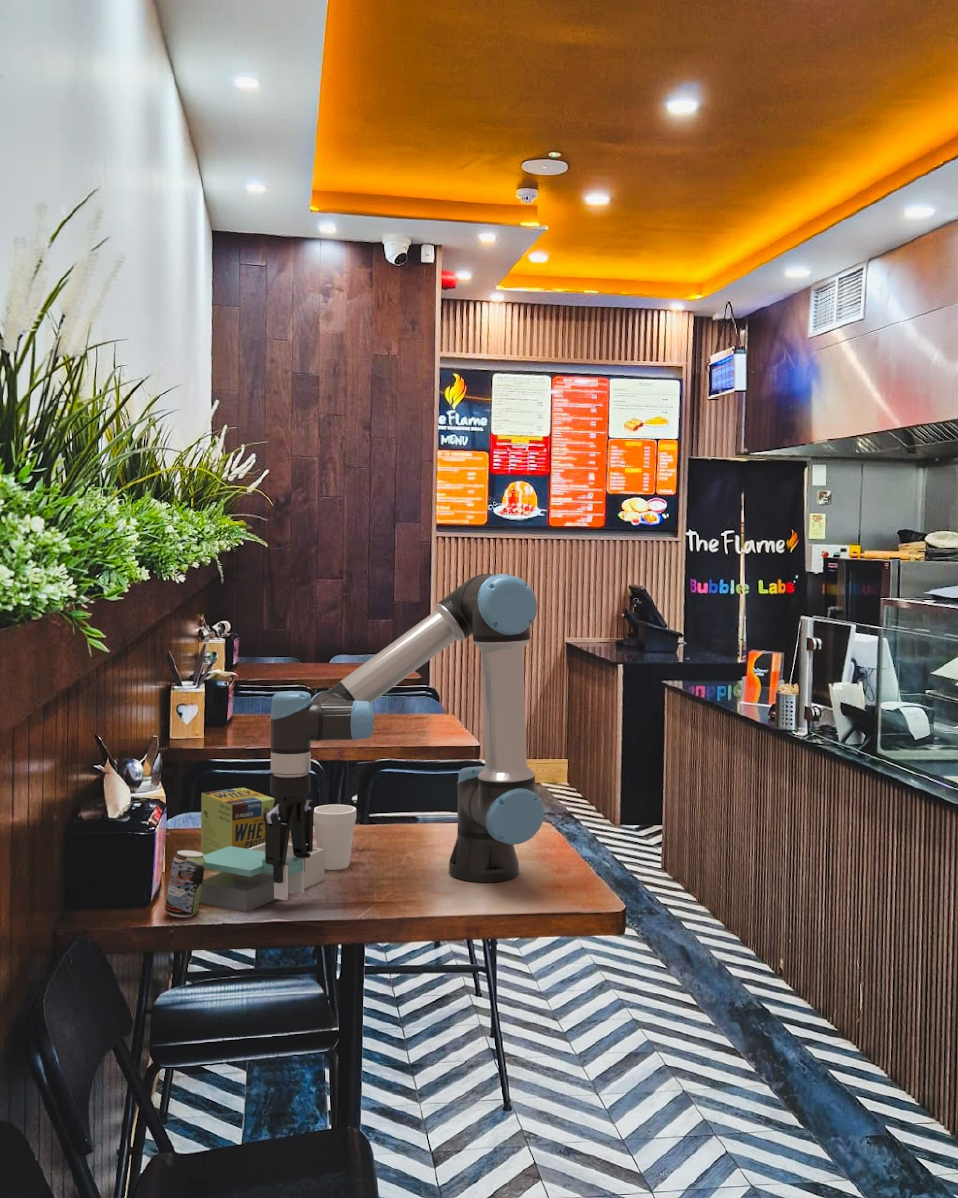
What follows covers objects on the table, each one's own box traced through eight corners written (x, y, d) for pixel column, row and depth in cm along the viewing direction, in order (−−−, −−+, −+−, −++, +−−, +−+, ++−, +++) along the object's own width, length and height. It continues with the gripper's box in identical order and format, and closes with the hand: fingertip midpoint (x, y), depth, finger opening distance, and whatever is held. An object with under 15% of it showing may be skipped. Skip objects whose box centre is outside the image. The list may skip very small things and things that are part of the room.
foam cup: (347, 876, 225) (347, 815, 224) (306, 873, 227) (306, 813, 226) (361, 864, 234) (361, 805, 234) (321, 861, 236) (321, 803, 236)
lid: (314, 869, 206) (314, 853, 206) (277, 884, 195) (277, 868, 195) (230, 854, 215) (230, 840, 215) (190, 869, 205) (190, 853, 204)
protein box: (231, 877, 223) (231, 804, 222) (199, 861, 235) (200, 792, 234) (275, 869, 229) (276, 798, 229) (243, 853, 241) (243, 786, 241)
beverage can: (159, 915, 198) (159, 852, 198) (194, 907, 203) (194, 845, 203) (175, 923, 194) (175, 858, 193) (211, 915, 199) (211, 851, 199)
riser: (282, 899, 209) (282, 876, 209) (246, 915, 199) (246, 891, 199) (234, 890, 214) (234, 868, 214) (196, 905, 204) (197, 882, 204)
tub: (324, 882, 220) (324, 849, 220) (292, 897, 210) (292, 862, 210) (269, 873, 226) (270, 840, 226) (236, 886, 216) (236, 852, 216)
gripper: (301, 764, 210) (300, 880, 211) (245, 779, 194) (244, 905, 195) (332, 767, 207) (331, 886, 207) (278, 783, 191) (276, 911, 192)
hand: (289, 895), depth 201 cm, fingers closed on lid, 4 cm apart
